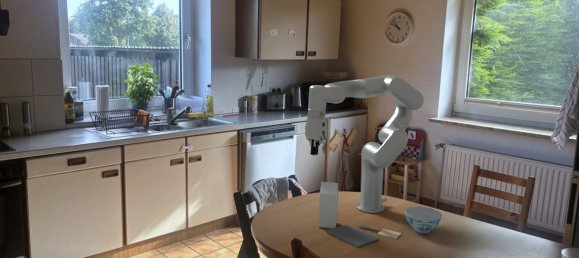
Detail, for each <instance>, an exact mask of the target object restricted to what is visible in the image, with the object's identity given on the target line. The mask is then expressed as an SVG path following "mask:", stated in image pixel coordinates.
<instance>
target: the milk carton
mask: <svg viewBox="0 0 579 258" xmlns="http://www.w3.org/2000/svg"><path fill="white" fill-rule="evenodd" d="M318 204H319V205H318V206H319V208H318V228H324V229H333V228H336V227H337V224H338V211H339V209H338V207H339V183H337V182H327V181H321V182H320V190H319V203H318Z"/></svg>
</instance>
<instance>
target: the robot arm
mask: <svg viewBox="0 0 579 258" xmlns="http://www.w3.org/2000/svg"><path fill="white" fill-rule="evenodd" d="M385 95H390V96H393V97H394V103H395V104H394V105H395V110H394V113H393V114H392V116H391V117H390V118H389V119H388V120H387V122H386V123H385V124H384V126H383V127H381V129H380V130H379V132H378V133H377V135H378V140H379V141H380V142H381V144H380V143H377V142H374V141H369V142H368V143H365V144H364V145H363V147H362V150H361V163H362V171H361V173H362V174H361V185H360V186H361V188H360V189H361V190H360V202H359V203H357V205H356V208H357V209H358V210H359V211H360V212H363V213H369V214H377V213H378V214H379V213H382V212H384V210H385V206H384V205H383V203H385V202H388V198H387V197H383V196H382V193H383V179H384V169H386V168H388V167H390V166H391V165H392V164H393V163H394V161H395V160H397V158H398V157H399V155H400V154H401V153H402V152H403V151H404V149H405V148H406V147H407V144H408V142H409V141H408V140H409V136H408V133H407V132H406V129H407V128H408V127H409V125H411V122H412V119H413V111H417V110H420V109H421V108H422V107H423V106H424V103H425V98H424V96H423V94H422V92H421V91H419V90H418V89H416V88H415V87H414V86H412V85H411V84H410V83H409V82H407V81H406V80H405V79H403V78H402V77H400V76H396V75H390V74H387V75H386V74H385V75H380V76H374V77H368V78H361V79H351V80H343V81H336V82H330V83H327V84H325V85H319V84H316V85H315V84H314V85H313V84H312V85H311V86H310V87H309V91H308V108H307V109H308V110H307V116H306V122H305V128H304V129H305V132H304V133H305V134H304V135H305V137H306V138H305V139H306V140H308V141H309V146H310V153H309V154H310V155H311V156H318V155H319V150H320V149H319V147H320V146H321V145H322V144H325V141H326V140H327V139H328V121H327V118H326V115H327V114H326V110H327V108H326V107H327V103H330V104H331V103H332V104H340V103H343V102H344V100H345V99H346V98H357V99H367V98H373V97H378V96H385ZM382 197H383V198H382Z"/></svg>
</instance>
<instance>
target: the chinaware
mask: <svg viewBox="0 0 579 258" xmlns="http://www.w3.org/2000/svg"><path fill="white" fill-rule="evenodd" d="M404 214H405V215H404V216H405V218H406V221H407V222H408V224H409V225H410V226H411V228H413V230H414V231H415V232H417V233H420V234H428V233H430V232H431V231H432V230H434V229H435V228H436V227H438V225H439V224H440V222H441V220H442V218H443V214H442V212H440V211H439V210H437V209H435V208H431V207H427V206H418V205H417V206H410V207H408V208H405V210H404Z"/></svg>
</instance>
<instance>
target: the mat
mask: <svg viewBox="0 0 579 258" xmlns="http://www.w3.org/2000/svg"><path fill="white" fill-rule="evenodd" d="M326 233H328V234H329V235H332V236H334V237H335V238H338V239H339V240H342V241H345V242H346V243H349V244H350V245H352V246H353V247H354V246H355V247H357V248H360V247H363V246H365V245H368V244H371V243H374V242H377V241H379V240H380V238H379V237H377V236H374V235H372V234H370V233H368V232H365V231H364V230H361V229H360V228H357V227H355V226H353V225H350V224H348V223H346V224H343V225H339V226H336V228H329V229H327V230H326Z"/></svg>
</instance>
